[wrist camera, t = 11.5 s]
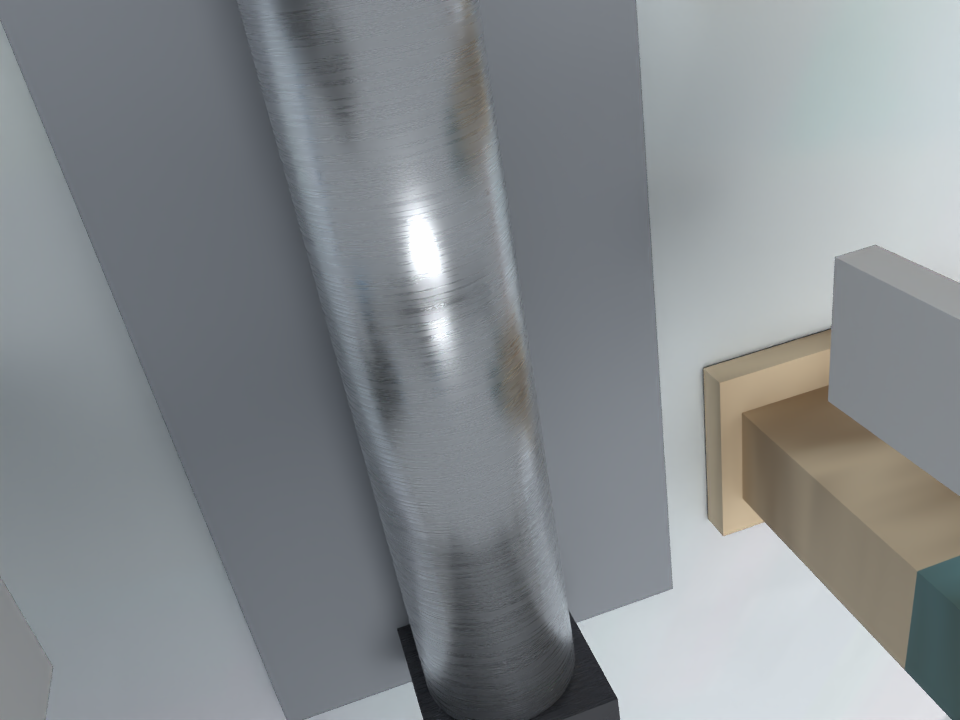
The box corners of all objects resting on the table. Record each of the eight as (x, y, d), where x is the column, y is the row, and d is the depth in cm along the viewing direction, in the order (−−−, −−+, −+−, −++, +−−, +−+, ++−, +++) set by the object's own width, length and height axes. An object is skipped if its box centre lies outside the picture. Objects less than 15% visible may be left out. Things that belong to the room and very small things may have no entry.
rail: (555, 608, 23) (621, 733, 20) (406, 660, 23) (446, 800, 19) (405, -338, 13) (486, -430, 10) (127, -300, 13) (105, -383, 9)
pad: (286, 706, 23) (288, 725, 22) (-132, -328, 12) (-147, -338, 12) (662, 574, 25) (672, 588, 24) (593, -419, 14) (609, -431, 14)
